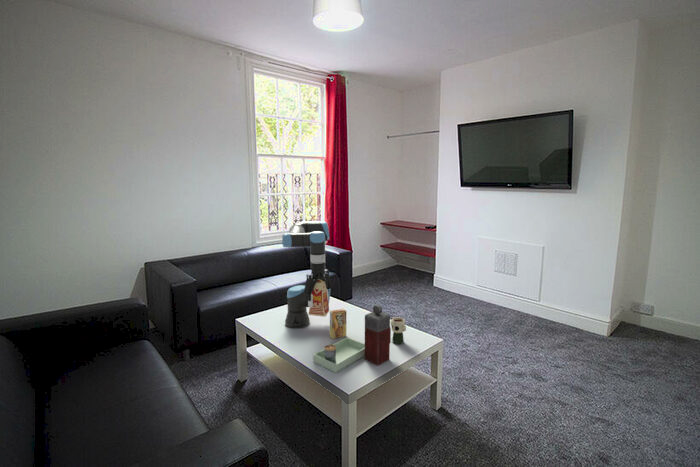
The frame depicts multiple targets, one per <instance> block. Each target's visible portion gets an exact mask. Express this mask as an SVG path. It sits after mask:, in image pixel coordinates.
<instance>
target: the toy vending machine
mask: <svg viewBox="0 0 700 467" xmlns="http://www.w3.org/2000/svg"><path fill="white" fill-rule="evenodd" d="M391 332H392V328H391V315H390V314H388V313H385V312H383V308H382V306H381V304H377V305H374V306H372V311H371V312H369V313H366V314H365V315H364V344H365V356H364V360H365V361H367V362H369V363H372V364H373V365H375V366H380V365H382V364H384V363H386V362H388V361H389V360H390V353H391V352H390V348H391V347H390V344H391V343H392V342H391V341H392V340H391V338H392V337H391V336H392V334H391Z"/></svg>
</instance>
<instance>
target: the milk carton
mask: <svg viewBox="0 0 700 467" xmlns="http://www.w3.org/2000/svg"><path fill="white" fill-rule="evenodd" d="M312 295H313V307H308V316H314V317H324V318H325V317H326V316H327V315H328V313H330V301H329V302H328V295H327V289H326V284H325V282H324V281H323V280H319V279H318V281H317V282H316V284H315V286H314V289H313V291H312Z"/></svg>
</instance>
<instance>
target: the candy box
mask: <svg viewBox="0 0 700 467" xmlns="http://www.w3.org/2000/svg"><path fill="white" fill-rule="evenodd" d="M329 337H330V338H331V339H332V340H333V339H338V338H343V337H347V310H346V309H344V308H340V309H335V310H329Z"/></svg>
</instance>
